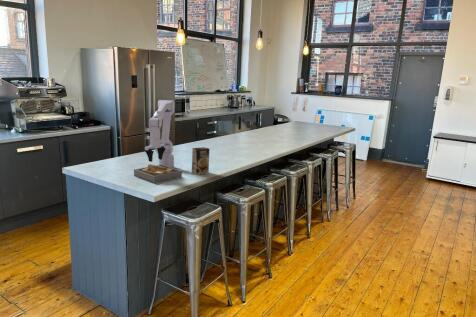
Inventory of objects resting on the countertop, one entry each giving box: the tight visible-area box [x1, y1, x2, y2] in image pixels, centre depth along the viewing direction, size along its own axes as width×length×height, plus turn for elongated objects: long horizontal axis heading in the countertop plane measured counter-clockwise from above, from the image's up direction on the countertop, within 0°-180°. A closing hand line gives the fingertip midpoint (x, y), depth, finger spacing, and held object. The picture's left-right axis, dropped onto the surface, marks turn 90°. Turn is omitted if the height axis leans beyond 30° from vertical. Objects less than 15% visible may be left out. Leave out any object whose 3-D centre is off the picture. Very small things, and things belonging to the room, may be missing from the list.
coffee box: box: [191, 146, 210, 176], centre depth 227 cm, size 9×6×16 cm
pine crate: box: [141, 163, 173, 176], centre depth 216 cm, size 13×13×6 cm
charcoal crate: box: [133, 164, 183, 184], centre depth 216 cm, size 20×20×4 cm
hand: (155, 160), depth 217 cm, fingers open, 7 cm apart
